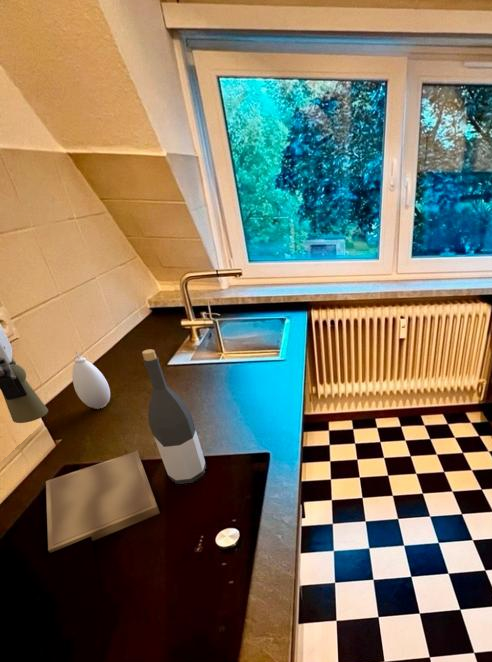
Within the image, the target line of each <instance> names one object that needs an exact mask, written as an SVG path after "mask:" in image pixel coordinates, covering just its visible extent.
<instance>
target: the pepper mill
mask: <svg viewBox="0 0 492 662" xmlns="http://www.w3.org/2000/svg"><path fill="white" fill-rule="evenodd" d="M10 366H11V368H12V370H13V373H14V375H15V377H18V378H19V380H20V382H21V384H22V385H23V387H24V389H25V391H26V393H27V395H26V396H24V397H19V398H15V399H11V400H7V399H6V398H5V396H4V394H3V393H2V396H3V399H4V401H5V404H6V406H7V409H8V412H9V414H10V417H11V420H12V422H13V423H16V424H24V423H30V422H34V421H36V420H40V419H41V418H43V417H44V416H46V415H47V414H48V413H49V408H47V406H46V405H45V403H44V402H43V401H42V399H41V397H40V396H39V395H38V394H37V393H36V392H35V390H34V389H33V388H32V386H31V385H30V383H29V382H28V381H27V380H26V379H27V373H26V370H25V369H24V368H23V367H22V366H21V365H19V364H16V365H15V364H10ZM2 368H3V369H6V370H7V368H6V366H5V367H2ZM7 371H8V370H7Z"/></svg>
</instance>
